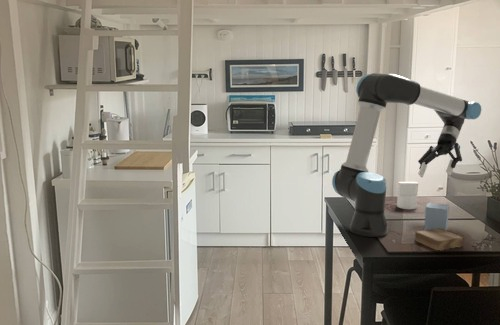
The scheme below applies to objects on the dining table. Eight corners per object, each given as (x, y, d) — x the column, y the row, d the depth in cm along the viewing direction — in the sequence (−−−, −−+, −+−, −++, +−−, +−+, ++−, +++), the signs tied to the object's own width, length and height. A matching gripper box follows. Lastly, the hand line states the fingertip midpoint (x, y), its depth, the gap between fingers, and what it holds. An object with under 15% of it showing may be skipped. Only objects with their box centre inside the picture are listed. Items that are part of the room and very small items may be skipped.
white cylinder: (412, 204, 241) (414, 180, 239) (419, 209, 233) (421, 184, 230) (394, 204, 241) (396, 180, 239) (400, 209, 232) (402, 184, 230)
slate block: (445, 236, 194) (447, 209, 192) (423, 233, 198) (425, 207, 196) (447, 230, 201) (449, 204, 199) (426, 227, 205) (428, 202, 203)
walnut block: (437, 251, 178) (438, 241, 178) (414, 241, 189) (415, 231, 188) (462, 247, 183) (463, 237, 182) (438, 237, 194) (439, 228, 193)
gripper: (478, 140, 214) (465, 177, 205) (428, 146, 234) (413, 181, 225) (470, 128, 211) (456, 166, 201) (420, 136, 231) (405, 171, 221)
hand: (433, 174), depth 213 cm, fingers open, 13 cm apart
